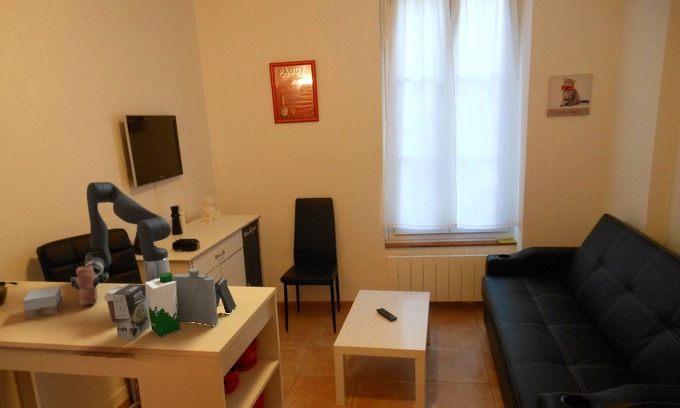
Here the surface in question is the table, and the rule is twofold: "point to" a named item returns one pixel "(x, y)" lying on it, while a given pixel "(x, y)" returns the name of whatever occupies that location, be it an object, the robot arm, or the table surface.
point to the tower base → (44, 311)
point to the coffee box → (131, 311)
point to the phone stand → (224, 295)
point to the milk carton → (163, 304)
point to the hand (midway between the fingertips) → (86, 286)
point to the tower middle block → (42, 298)
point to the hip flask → (196, 298)
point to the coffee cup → (109, 299)
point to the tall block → (86, 285)
